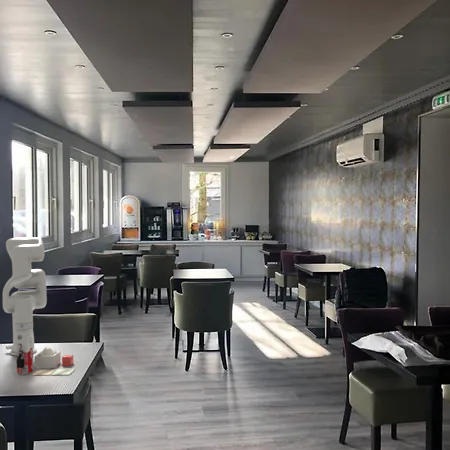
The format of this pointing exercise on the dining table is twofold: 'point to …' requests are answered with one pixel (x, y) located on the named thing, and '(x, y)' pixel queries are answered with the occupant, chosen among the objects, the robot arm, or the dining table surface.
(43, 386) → the dining table surface
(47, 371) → the beige and green board
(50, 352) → the dome
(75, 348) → the dining table surface
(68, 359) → the die
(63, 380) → the dining table surface
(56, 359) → the base
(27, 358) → the soda can
